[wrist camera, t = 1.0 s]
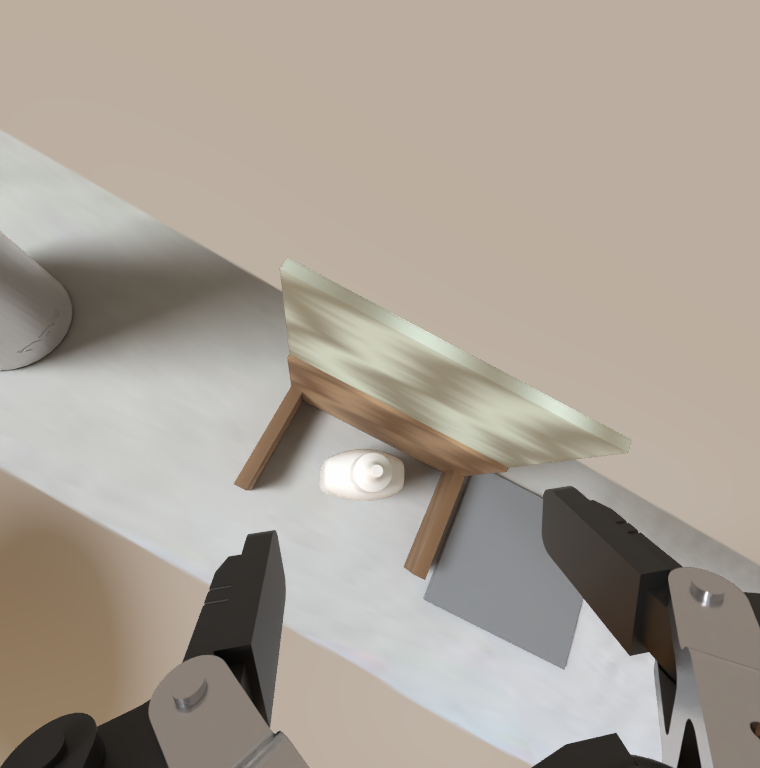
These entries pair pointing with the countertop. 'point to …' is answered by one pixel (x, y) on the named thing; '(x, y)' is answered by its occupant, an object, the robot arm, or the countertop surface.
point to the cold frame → (416, 398)
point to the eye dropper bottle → (362, 475)
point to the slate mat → (505, 571)
